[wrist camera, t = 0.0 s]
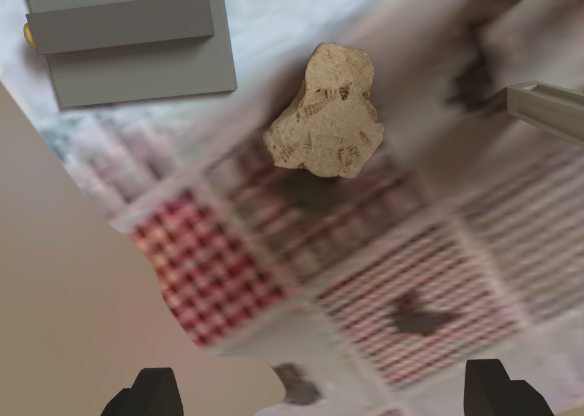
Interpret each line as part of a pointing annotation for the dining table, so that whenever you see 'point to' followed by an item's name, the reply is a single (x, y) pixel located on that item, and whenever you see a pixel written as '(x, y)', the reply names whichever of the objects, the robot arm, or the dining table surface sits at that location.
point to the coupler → (132, 48)
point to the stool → (549, 109)
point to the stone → (329, 116)
